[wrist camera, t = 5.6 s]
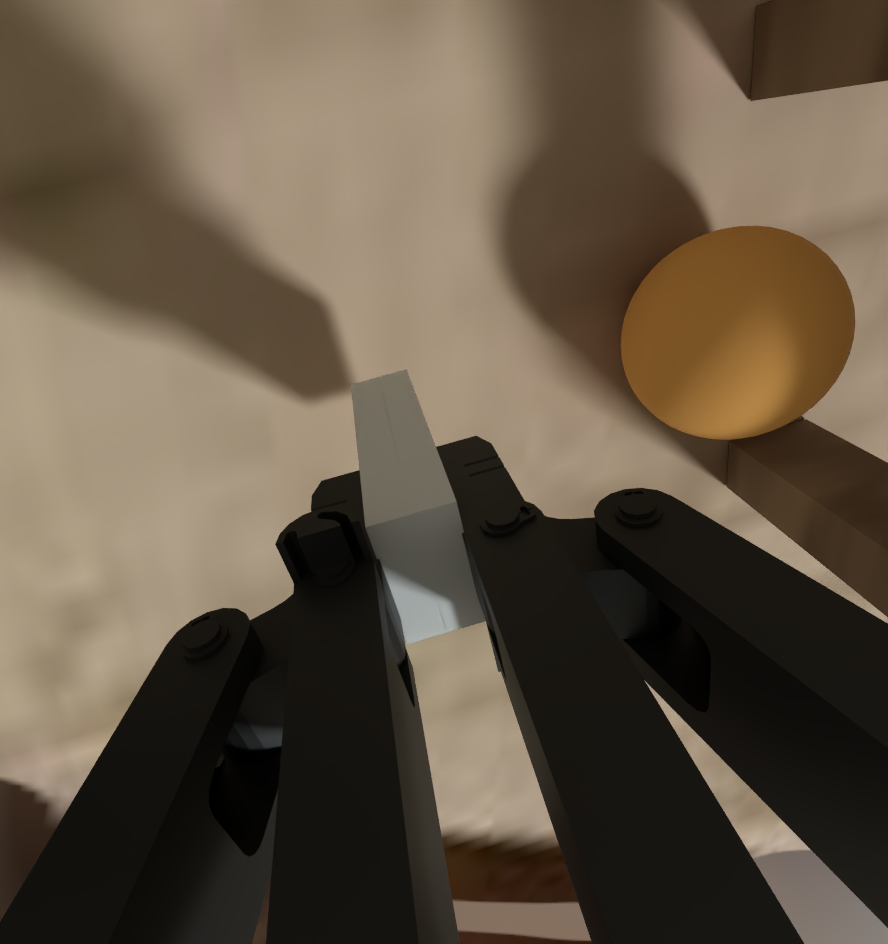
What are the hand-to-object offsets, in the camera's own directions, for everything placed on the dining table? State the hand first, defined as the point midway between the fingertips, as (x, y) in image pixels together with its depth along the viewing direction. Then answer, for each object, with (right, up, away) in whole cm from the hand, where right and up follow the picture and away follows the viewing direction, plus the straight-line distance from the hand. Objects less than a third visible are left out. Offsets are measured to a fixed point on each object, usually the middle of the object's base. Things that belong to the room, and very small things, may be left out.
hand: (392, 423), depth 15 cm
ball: (+9, +2, 0) cm, 9 cm away
